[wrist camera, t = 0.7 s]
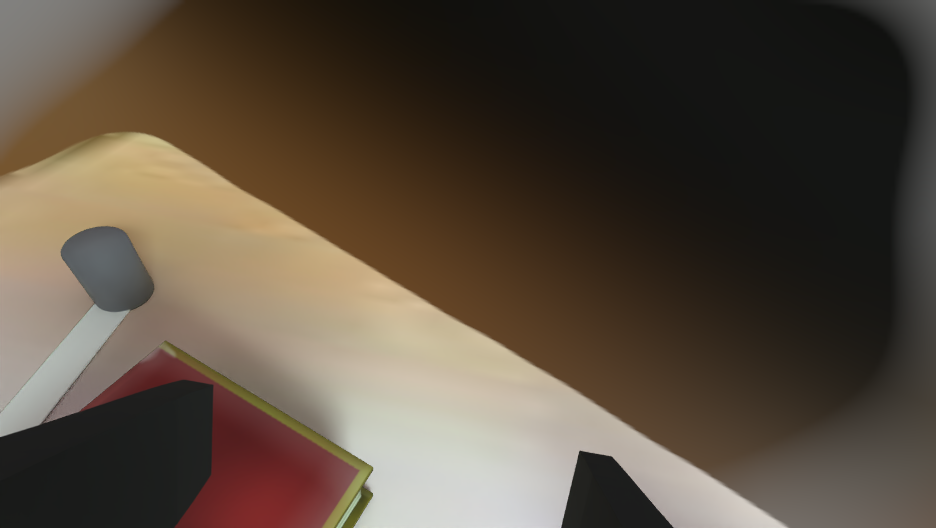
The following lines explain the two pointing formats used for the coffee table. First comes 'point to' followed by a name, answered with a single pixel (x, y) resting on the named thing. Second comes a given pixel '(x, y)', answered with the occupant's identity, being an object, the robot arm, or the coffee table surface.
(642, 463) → the coffee table surface
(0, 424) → the strip
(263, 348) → the coffee table surface
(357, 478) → the hardcover book
